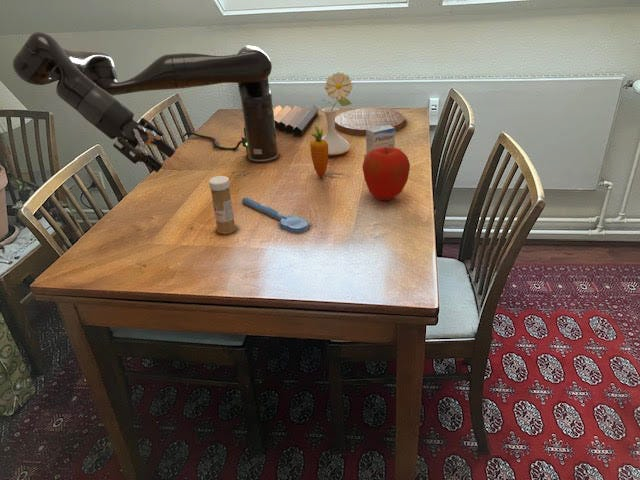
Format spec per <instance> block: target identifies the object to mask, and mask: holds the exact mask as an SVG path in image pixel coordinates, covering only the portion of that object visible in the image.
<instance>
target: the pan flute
mask: <svg viewBox="0 0 640 480" xmlns="http://www.w3.org/2000/svg"><path fill="white" fill-rule="evenodd" d="M273 111H274V121H275V129H277V130H278V131H279V132H285V133H286V134H292V135H293V137H302V135H303V134H304V133H305V131H306V130H307V128H308V127H309V126H310V124H311V123H312V122H313V121H314V119H315V118H316V117H317V115H318V113H319V108H318V107H317V106H316V105H313V106H311V107H308V106H307V105H303V106H302V107H299V106H298V105H294V106H293V107H291V106H290V105H288V104H286V105H285V106H284V107H282V106H281V105H280V104H278V105H276V106H273Z"/></svg>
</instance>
